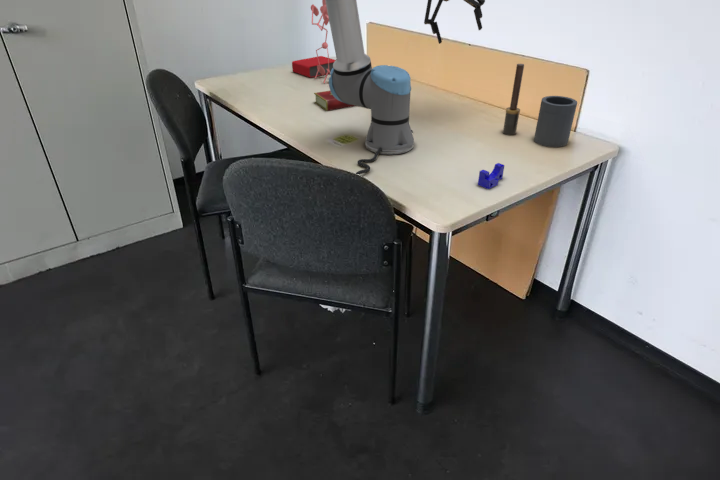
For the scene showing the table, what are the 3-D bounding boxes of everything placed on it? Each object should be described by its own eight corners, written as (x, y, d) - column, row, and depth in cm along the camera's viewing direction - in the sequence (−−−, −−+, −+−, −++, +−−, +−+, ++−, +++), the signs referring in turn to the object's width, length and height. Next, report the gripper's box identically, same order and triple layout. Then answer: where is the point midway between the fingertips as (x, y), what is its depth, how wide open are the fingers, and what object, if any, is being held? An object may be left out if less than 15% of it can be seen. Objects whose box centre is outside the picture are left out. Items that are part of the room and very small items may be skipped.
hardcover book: (375, 103, 189) (375, 92, 187) (326, 111, 181) (326, 100, 179) (361, 95, 198) (361, 84, 196) (314, 102, 190) (313, 92, 188)
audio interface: (322, 66, 240) (322, 55, 237) (340, 71, 230) (339, 60, 228) (292, 72, 230) (291, 61, 228) (309, 78, 221) (308, 66, 218)
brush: (515, 135, 158) (527, 66, 146) (502, 134, 159) (512, 65, 147) (516, 131, 161) (528, 63, 149) (502, 129, 163) (513, 62, 151)
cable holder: (488, 189, 126) (490, 175, 124) (477, 184, 128) (479, 171, 126) (506, 180, 130) (509, 166, 128) (496, 176, 133) (498, 162, 131)
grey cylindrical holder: (568, 148, 148) (578, 107, 141) (533, 145, 151) (541, 104, 144) (566, 137, 156) (576, 97, 149) (534, 134, 159) (541, 94, 152)
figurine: (330, 88, 207) (326, -2, 188) (306, 75, 226) (300, -9, 207) (361, 83, 213) (360, -5, 194) (335, 70, 232) (332, -11, 213)
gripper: (478, -39, 158) (495, 26, 162) (405, -13, 161) (423, 50, 164) (483, -49, 151) (500, 20, 154) (406, -21, 154) (424, 45, 157)
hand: (460, 36), depth 159 cm, fingers open, 13 cm apart
